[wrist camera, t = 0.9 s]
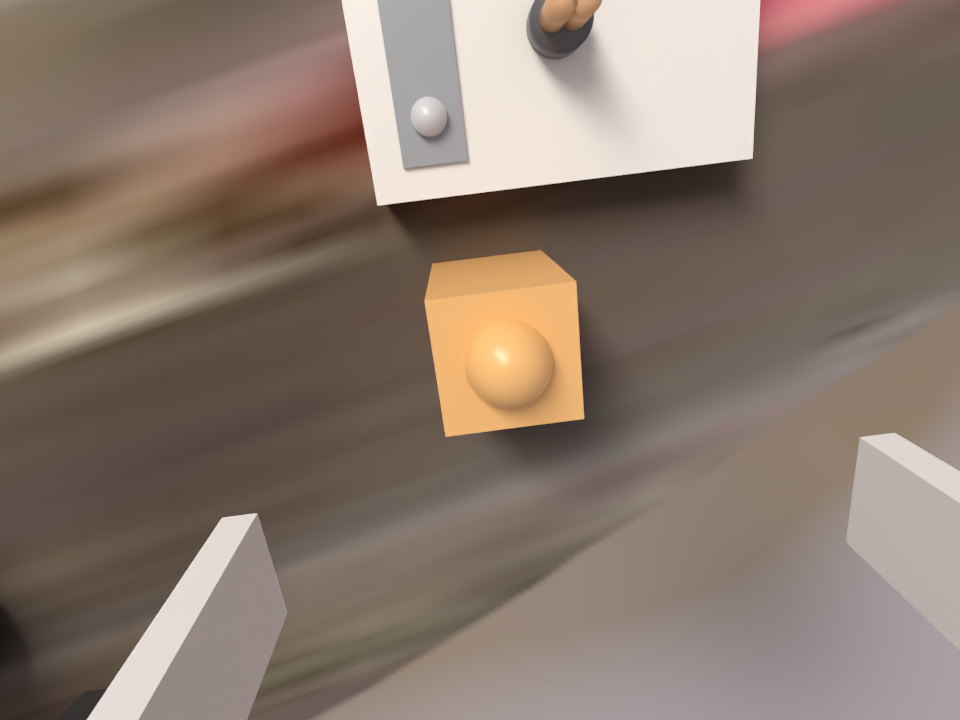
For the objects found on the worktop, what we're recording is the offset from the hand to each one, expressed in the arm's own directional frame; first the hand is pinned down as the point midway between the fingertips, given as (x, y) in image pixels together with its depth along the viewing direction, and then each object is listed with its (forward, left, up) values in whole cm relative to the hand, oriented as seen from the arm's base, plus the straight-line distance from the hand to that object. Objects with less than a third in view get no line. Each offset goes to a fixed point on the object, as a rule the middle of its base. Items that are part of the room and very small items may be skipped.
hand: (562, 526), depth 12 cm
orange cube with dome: (0, 0, -20) cm, 20 cm away
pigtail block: (+4, +13, -20) cm, 24 cm away
